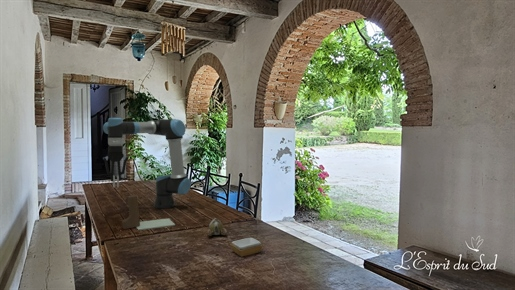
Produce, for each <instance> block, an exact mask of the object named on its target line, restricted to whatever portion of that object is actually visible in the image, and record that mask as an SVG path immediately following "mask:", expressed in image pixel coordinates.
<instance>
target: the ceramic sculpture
mask: <svg viewBox="0 0 515 290" xmlns="http://www.w3.org/2000/svg"><path fill="white" fill-rule="evenodd" d="M206 234H207V236H208V237H212V236H219V235H222V236H226V235H227V234H228V231H227V229H226V227H224V225H223V223H222V222H221V220H219V219H218V218H216V217H214V219H212V220H211V221H210V223H209V225H208V229H207V230H206Z"/></svg>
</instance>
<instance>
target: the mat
mask: <svg viewBox="0 0 515 290" xmlns="http://www.w3.org/2000/svg"><path fill="white" fill-rule="evenodd" d="M175 226H176V224H175V223H174V222H173V221H172V220H171V218H161V219H151V220H145V221H144V220H143V221H140V226H137V227H135V228H136V230H137V229H138V230H137V231H144V230H151V229H160V228H167V227H175Z"/></svg>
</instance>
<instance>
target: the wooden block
mask: <svg viewBox="0 0 515 290" xmlns="http://www.w3.org/2000/svg"><path fill="white" fill-rule="evenodd" d="M138 200H139V199H138V195H136V194H132V195H128V196H127V202H128V210H129V215H128V216H127V218H124V219H122V220H121V223H122V224H121V225H122V230H127V229H132V228H136V227H137V226H140V222H141V220H140V213H139V203H138Z"/></svg>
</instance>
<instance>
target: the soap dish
mask: <svg viewBox="0 0 515 290" xmlns="http://www.w3.org/2000/svg"><path fill="white" fill-rule="evenodd" d="M229 246H230V248H231V250H232V252H233V253H235V254H236V255H238V256H239V257H241V258H243V257H246V256H249V255H253V254H257V253H258V254H260V252H261V251H262V248H263V245H262V243H261V242H260V241H259V240H257V239H255V238H253V237H245V238H242V239H238V240H234V241H232V242H231V243H229Z"/></svg>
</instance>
